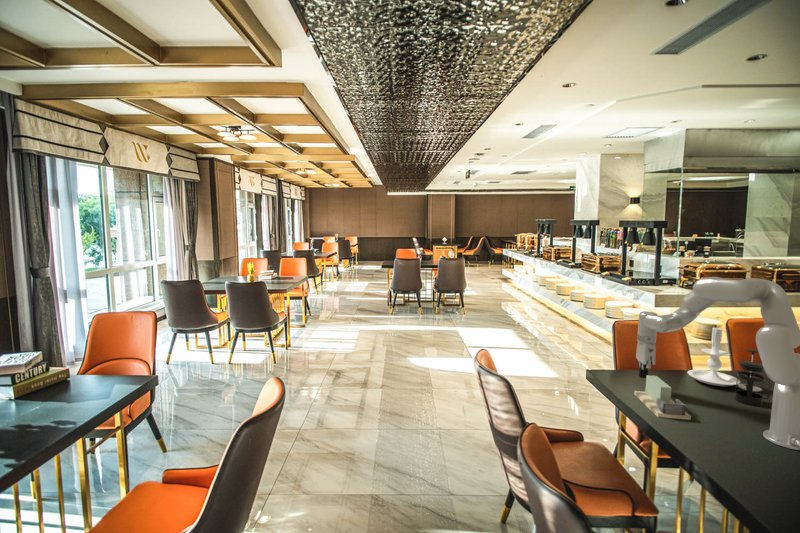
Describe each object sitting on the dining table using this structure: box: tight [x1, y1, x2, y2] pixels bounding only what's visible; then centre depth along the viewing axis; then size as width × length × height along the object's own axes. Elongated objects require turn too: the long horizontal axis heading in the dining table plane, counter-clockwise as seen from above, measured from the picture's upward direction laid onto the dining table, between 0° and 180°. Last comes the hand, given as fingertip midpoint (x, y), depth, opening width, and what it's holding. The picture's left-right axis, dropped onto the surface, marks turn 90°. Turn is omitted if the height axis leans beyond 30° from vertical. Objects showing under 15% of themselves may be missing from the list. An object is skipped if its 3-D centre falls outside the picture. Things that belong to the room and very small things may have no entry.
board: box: [634, 390, 692, 421], centre depth 173 cm, size 23×12×6 cm, turn 171°
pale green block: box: [644, 374, 672, 403], centre depth 176 cm, size 14×4×8 cm, turn 170°
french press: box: [734, 349, 771, 407], centre depth 177 cm, size 12×9×23 cm
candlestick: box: [686, 327, 741, 387], centre depth 201 cm, size 21×25×28 cm
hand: (643, 377), depth 190 cm, fingers closed
